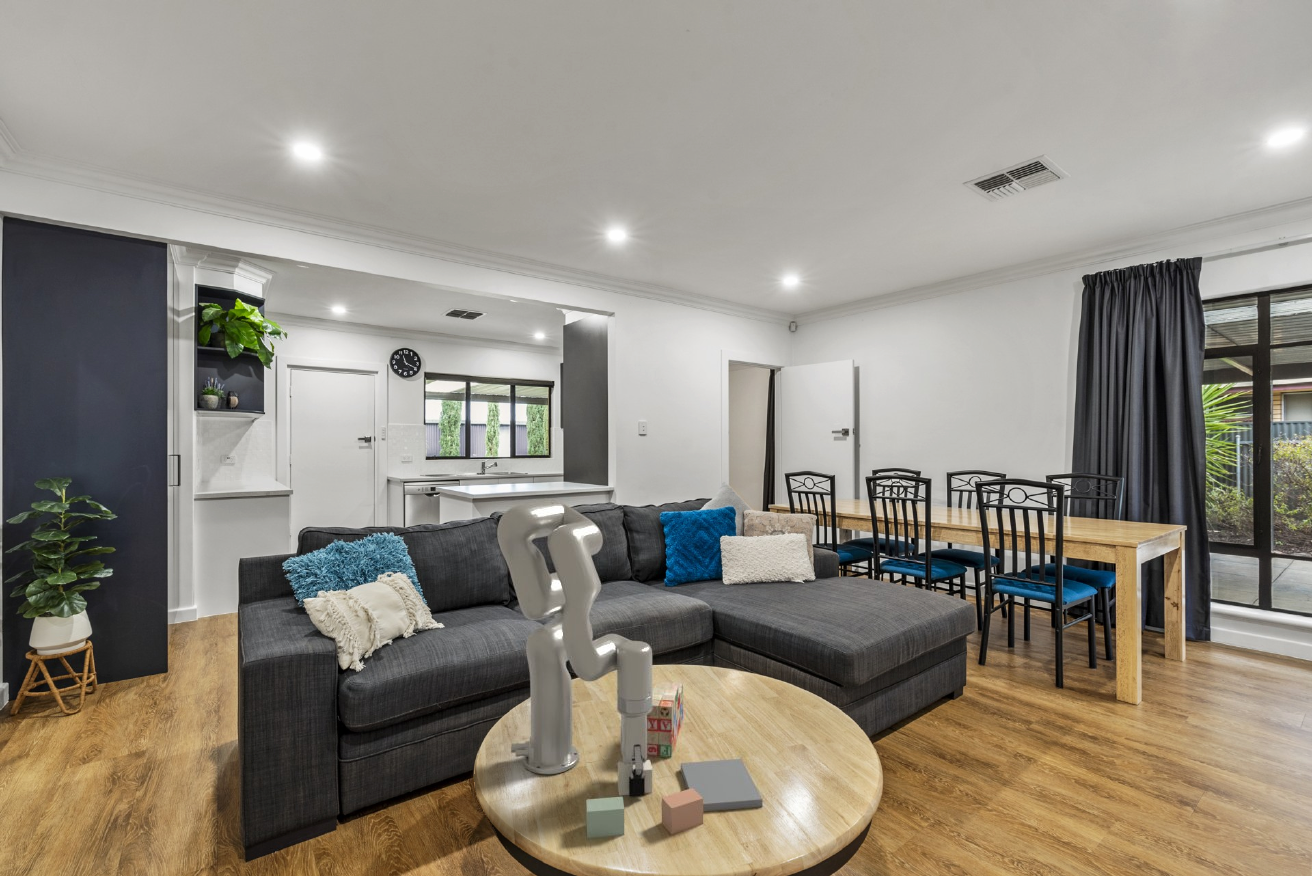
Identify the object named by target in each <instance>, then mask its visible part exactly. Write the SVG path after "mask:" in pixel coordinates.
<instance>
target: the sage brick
mask: <svg viewBox="0 0 1312 876" xmlns="http://www.w3.org/2000/svg"><path fill="white" fill-rule="evenodd" d="M585 804H586V805H585V806H586V808H585V809H586V810H585V811H586V816H585V817H586V824H585V825H586V838H587V839H592V838H605V837H613V836H625V805H624V798H623V796H615V797H613V796H612V797H602V798H601V797H599V798H590V799H589V798H588V799H586V803H585Z"/></svg>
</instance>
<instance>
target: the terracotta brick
mask: <svg viewBox="0 0 1312 876" xmlns="http://www.w3.org/2000/svg"><path fill="white" fill-rule="evenodd" d="M661 824H662V825H663V826H664V827H665V829H667V830H668V831H669V833H670V834H671V835H674V834H677V833H681V832H683V831H685V830H688V829H691V828H695V827H697V826H699V825H703V824H704V812H703V798H702V797H701V796H700V795H699V794H698V793H697V792H696V791H695V790H694V789H693V788H691V789H688V790H687V789H685V790H681V791H679V792H675V793H672V794H669V795H666V796H662V797H661Z"/></svg>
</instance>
